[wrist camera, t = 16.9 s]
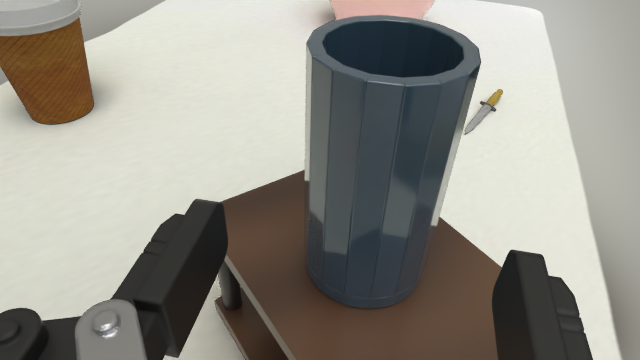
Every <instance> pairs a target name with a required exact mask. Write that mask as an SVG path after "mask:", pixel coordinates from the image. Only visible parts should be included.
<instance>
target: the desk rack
mask: <svg viewBox="0 0 640 360" xmlns="http://www.w3.org/2000/svg"><path fill="white" fill-rule="evenodd" d="M304 190H305V170H303V171H301V172H298V173H295V174H293V175H290V176H287V177H285V178H282V179H280V180H277V181H274V182H272V183H269V184H266V185H264V186H261V187H258V188H256V189H253V190H251V191H248V192H245V193H243V194H240V195H237V196H235V197H232V198H229V199H227V200H224V201H222V202H220V203H222V204H223V206H224V212H225V219H226V227H227V234H228V249H227V253H226V257H225V259H224V262H223V264H222V266H221V268H220V270H219V272H218V276H219V282H220V287H221V293H222V297H220V298H218V299H216V300H215V305H216V309H217V311H218V313H219V314H220V316H221V318H222V320H223V321H224V323H225V325H226V327H227V328H228V330H229V332H230V334H231V335H232V337H233V339H234V341H235V342H236V344H237V346H238V348H239V349H240V351H241V353H242V355H243V356H244V358H245V360H498V355H497V346H496V338H495V329H494V321H493V312H492V294H493V289H494V285H495V283H496V280H497V278H498V276H499V274H500V271H501V269H502V267H500V266H499V265H498V264H497V263H496V262H494V261H493V260H492V259H491V258H489V257H488V256H487V255H486V254H485V253H483V252H482V251H481V250H480V249H478V248H477V247H476V246H475V245H473V244H472V243H471V242H470V241H469V240H467V239H466V238H465V237H464V236H462V235H461V234H460V233H459V232H458V231H456V230H455V229H454V228H453V227H451V226H450V225H449V224H448V223H447V222H445V221H444V220H443V219H442V218H440V217H439V219H438V223H437V227H436V230H435V234H434V238H433V241H432V245H431V249H430V252H429V256H428V260H427V263H426V267H425V269H424V271H423V274H422V278H421V281H420V283H419V285H418V286H417V288H416V289H415V290H414V292H413V293H411V294H410V295H409V296H408V297H407V298H405V299H404V300H402V301H400V302H398V303H396V304H394V305H391V306H388V307H383V308H376V309H363V308H355V307H351V306H347V305H344V304H342V303H339V302H337V301H335V300H333V299H331V298H330V297H328V296H327V295H325V294H324V293H323V292H321V291H320V290H319V289H318V288H317V287H316V285H315V284H314V283H313V281H312V280H311V279H310V277H309V275H308V273H307V270H306V266H305V250H304ZM240 285H241V288H240Z"/></svg>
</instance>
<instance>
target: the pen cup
mask: <svg viewBox="0 0 640 360" xmlns="http://www.w3.org/2000/svg"><path fill="white" fill-rule="evenodd" d="M480 64H481V59H480V54H479V49H478V47H477V46H476V45H475V44H474V43H472V42H471V41H470V40H469V39H468V38H467V37H466V36H464V35H463V34H461V33H458V32H456V31H454V30H452V29H449V28H447V27H445V26H443V25H440V24H436V23H432V22H428V21H424V20H420V19H416V18H409V17H399V16H389V15H369V16H353V17H348V18H343V19H339V20H334V21H331V22H328V23H326V24H325V25H323V26H321V27H319V28H317V29H315V30H314V31H313V32H312V34H311V36H310V37H309V39H308V41H307V43H306V111H305V190H304V250H305V266H306V270H307V273H308V275H309V277H310V279H311V280H312V281H313V283H314V284H315V285H316V287H317V288H318V289H319V290H320V291H321V292H323V293H324V294H325V295H327V296H328V297H330V298H331V299H333V300H335V301H337V302H339V303H342V304H344V305H347V306H351V307H355V308H363V309H376V308H383V307H388V306H391V305H394V304H396V303H398V302H400V301H402V300H404V299H405V298H407V297H408V296H409V295H410V294H411V293H413V292H414V290H415V289H416V288H417V286H418V285H419V283H420V281H421V278H422V274H423V271H424V269H425V267H426V263H427V260H428V256H429V252H430V249H431V245H432V241H433V238H434V234H435V230H436V227H437V223H438V219H439V216H440V212H441V208H442V204H443V201H444V197H445V193H446V190H447V186H448V182H449V179H450V175H451V171H452V168H453V164H454V160H455V157H456V153H457V149H458V146H459V142H460V138H461V134H462V131H463V127H464V123H465V120H466V116H467V112H468V109H469V105H470V101H471V98H472V94H473V90H474V87H475V83H476V79H477V75H478V72H479V68H480Z"/></svg>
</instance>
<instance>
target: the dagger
mask: <svg viewBox="0 0 640 360" xmlns="http://www.w3.org/2000/svg"><path fill="white" fill-rule="evenodd" d="M502 94H503V91H502V90H501V89H498V90H497V92H495V93H494V94H493V95H492V96H491V97H490V98H489V100H488V101H487V103H485V102H482V101H481V102H480V104H481V105H483V106H482V108H481V109H480V110H479V112H478V113H477V114H476V115H475V117H474V118H473V119H472V120H471V122H470V123H469V124H468V126H467V128H466V130H465V134H466V133H468V132H470V131H471V130H472V129H474V127H475V126H476V125H477V124H478V123H479V122H480V121H481V120H482V119H483V117H484V116H485V115H486V114H487V113H488V112H489V111H490V110H492V111H496V109H495V108H494V107H493V105H494V104H495V103H496V102H497V101H498V100H499V98H500V97H501V95H502Z"/></svg>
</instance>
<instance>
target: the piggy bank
mask: <svg viewBox="0 0 640 360" xmlns="http://www.w3.org/2000/svg"><path fill="white" fill-rule="evenodd" d="M329 1H330V4H331V6H332V9H333V11H334V14H335V20H339V19H343V18H348V17H353V16H369V15H389V16H399V17H409V18H416V19H420V20H422V17H423V16H424V15H425V14H426V13H427V12H428V10H429V9H430V8H431V6H432V5H433V3H434V2H435V0H329Z"/></svg>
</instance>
